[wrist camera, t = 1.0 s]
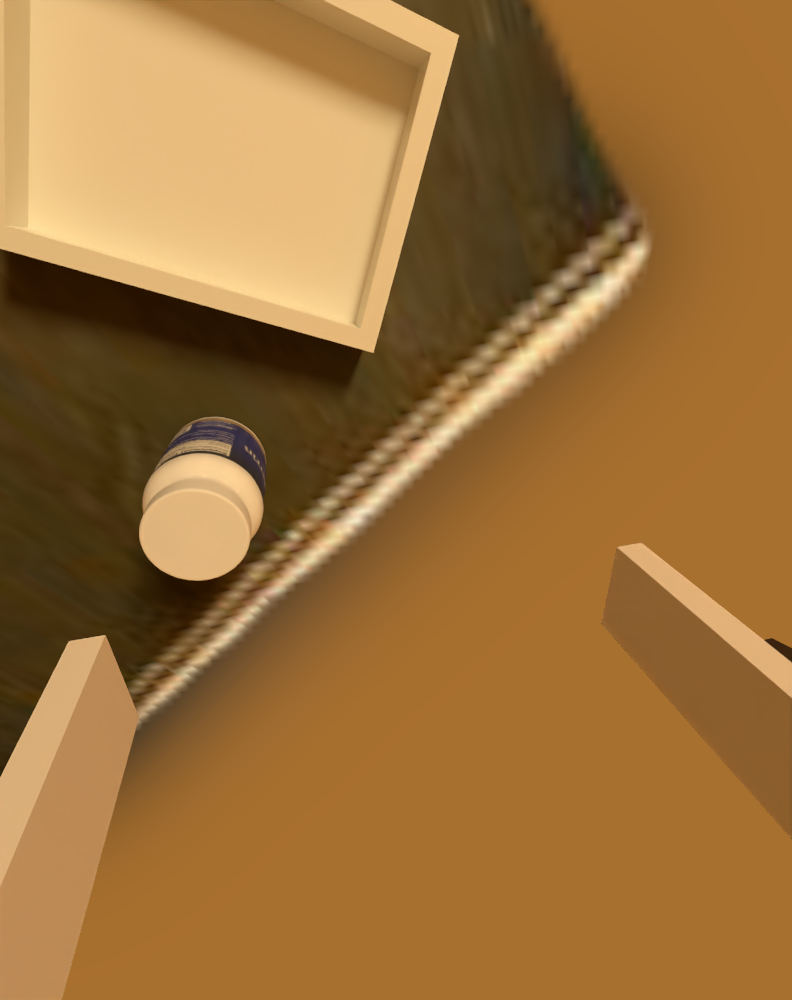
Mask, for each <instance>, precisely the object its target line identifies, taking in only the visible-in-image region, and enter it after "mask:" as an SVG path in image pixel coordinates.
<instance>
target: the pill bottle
mask: <svg viewBox="0 0 792 1000" xmlns="http://www.w3.org/2000/svg"><path fill="white" fill-rule="evenodd" d="M265 478H266V456H265V452H264V449H263V447H262V444H261V443H260V441H259V439H258V438H257V437H256V435H255V434H254V433H253V432H252V431H251V430H250V429H248V428H247V427H246V426H244V425H242V424H241V423H239V422H236V421H234V420H231V419H227V418H222V417H206V418H201V419H198V420H195V421H193V422H191V423H189V424H187V425H186V426H184V427H183V428H182V429H181V430H180V431H179V432H178V433H177V434H176V435H175V437H174V438H173V440H172V441H171V443H170V444H169V446H168V448H167V449H166V451H165V453H164V455H163V456H162V458H161V460H160V462H159V463H158V465H157V466H156V468H155V470H154V472H153V473H152V475H151V477H150V478H149V480H148V483H147V485H146V487H145V490H144V494H143V504H142V506H143V517H142V519H141V522H140V527H139V539H140V543H141V546H142V549H143V551H144V553H145V554H146V556H147V557H148V559H149V560H150V561H151V562H152V563H153V564H154V565H155V566H156V567H157V568H159V569H160V570H161V571H163V572H165V573H167V574H169V575H171V576H174V577H176V578H180V579H185V580H194V581H202V580H209V579H213V578H217V577H220V576H222V575H224V574H226V573H228V572H229V571H231V570H232V569H234V568H235V567H236V566H237V565H238V564H239V563H240V562H241V560H242V559H243V558H244V556H245V554H246V552H247V550H248V547H249V543H250V540H251V539H252V538H253V536H254V535H255V533H256V532H257V530H258V528H259V526H260V523H261V520H262V516H263V510H264V492H265Z"/></svg>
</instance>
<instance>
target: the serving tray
mask: <svg viewBox="0 0 792 1000" xmlns="http://www.w3.org/2000/svg"><path fill="white" fill-rule="evenodd" d="M458 37H459V35H457V34H455V33H453V32H451V31H449V30H447V29H445V28H443V27H442V26H440V25H438V24H436V23H434V22H432V21H430V20H428V19H426V18H424V17H422V16H420V15H418V14H416V13H414V12H412V11H410V10H408V9H406V8H404V7H402V6H400V5H398V4H397V3H395V2H393V1H391V0H0V249H3V250H7V251H10V252H14V253H18V254H21V255H25V256H28V257H32V258H35V259H39V260H43V261H46V262H50V263H53V264H57V265H60V266H64V267H68V268H71V269H75V270H78V271H82V272H86V273H89V274H93V275H96V276H100V277H103V278H107V279H111V280H114V281H118V282H121V283H125V284H129V285H132V286H136V287H139V288H143V289H146V290H150V291H154V292H157V293H161V294H164V295H168V296H172V297H175V298H179V299H182V300H186V301H189V302H193V303H197V304H200V305H204V306H207V307H211V308H214V309H218V310H222V311H225V312H229V313H232V314H236V315H240V316H243V317H247V318H250V319H254V320H257V321H261V322H265V323H268V324H272V325H275V326H279V327H283V328H286V329H290V330H293V331H297V332H300V333H304V334H308V335H311V336H315V337H318V338H322V339H326V340H329V341H333V342H336V343H340V344H343V345H347V346H351V347H354V348H358V349H361V350H365V351H368V352H372V353H373V352H374V349H375V345H376V341H377V337H378V334H379V330H380V326H381V323H382V319H383V315H384V311H385V308H386V304H387V300H388V297H389V293H390V289H391V286H392V282H393V278H394V274H395V271H396V267H397V263H398V260H399V256H400V252H401V248H402V245H403V241H404V237H405V234H406V230H407V226H408V223H409V219H410V215H411V211H412V208H413V204H414V200H415V197H416V193H417V189H418V185H419V182H420V178H421V174H422V171H423V167H424V163H425V160H426V156H427V152H428V148H429V145H430V141H431V137H432V134H433V130H434V126H435V122H436V119H437V115H438V111H439V108H440V104H441V100H442V97H443V93H444V89H445V85H446V82H447V78H448V74H449V71H450V67H451V63H452V59H453V56H454V52H455V48H456V45H457V41H458Z"/></svg>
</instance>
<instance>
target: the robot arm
mask: <svg viewBox="0 0 792 1000" xmlns="http://www.w3.org/2000/svg"><path fill="white" fill-rule="evenodd" d="M602 625H603V626H604V627H605V628H606V629H607V630H608V631H609V633H610V634H611V635H612V636H613V637H614V638H615V639H616V641H617V642H618V643H619V644H620V645H621V646H622V647H623V649H624V650H625V651H626V652H627V653H628V654H629V655H630V656H631V657H632V658H633V660H634V661H635V662H636V663H637V664H638V665H639V667H640V668H641V669H642V670H643V671H644V672H645V673H646V675H647V676H648V677H649V678H650V679H651V680H652V681H653V682H654V683H655V685H656V686H657V687H658V688H659V689H660V690H661V692H662V693H663V694H664V695H665V696H666V697H667V698H668V699H669V700H670V702H671V703H672V704H673V705H674V706H675V707H676V708H677V710H678V711H679V712H680V713H681V714H682V715H683V716H684V718H685V719H686V720H687V721H688V722H689V723H690V724H691V725H692V726H693V728H694V729H695V730H696V731H697V732H698V733H699V735H701V737H702V738H703V739H704V740H705V741H706V742H707V743H708V745H709V746H710V747H711V748H712V749H713V750H714V751H715V753H716V754H717V755H718V756H719V757H720V758H721V759H722V760H723V762H724V763H725V764H726V765H727V766H728V767H729V768H730V770H731V771H732V772H733V773H734V774H735V775H736V776H737V777H738V778H739V780H740V781H741V782H742V783H743V784H744V785H745V787H746V788H747V789H748V790H749V791H750V792H751V793H752V795H753V796H754V797H755V798H756V799H757V800H758V801H759V802H760V804H761V805H762V806H763V807H764V808H765V809H766V810H767V812H768V813H769V814H770V815H771V816H772V817H773V818H774V819H775V821H776V822H777V823H778V824H779V825H780V826H781V827H782V828H783V830H784V831H785V832H786V833H787V834H788V835H789V836H790V838H791V839H792V648H790V647H788V646H786V645H784V644H782V643H780V642H778V641H776V640H774V639H772V638H771V639H767V640H763V639H762V638H760V637H759V636H758V635H757V634H755V633H754V632H753V631H752V630H750V629H749V628H748V627H747V626H745V625H744V624H743V623H741V622H740V621H739V620H738V619H736V618H735V617H734V616H733V615H731V614H730V613H729V612H728V611H726V610H725V609H724V608H723V607H721V606H720V605H719V604H718V603H716V602H715V601H714V600H713V599H711V598H710V597H709V596H708V595H706V594H705V593H704V592H702V591H701V590H700V589H699V588H697V587H696V586H695V585H694V584H692V583H691V582H690V581H688V580H687V579H686V578H685V577H684V576H682V575H681V574H680V573H679V572H677V571H676V570H675V569H673V568H672V567H671V566H670V565H669V564H667V563H666V562H665V561H663V560H662V559H661V558H660V557H658V556H657V555H656V554H655V553H653V552H652V551H651V550H650V549H648V548H647V547H646V546H645V545H643V544H642V543H639V544H633V545H627V546H621V547H617V549H616V554H615V559H614V564H613V569H612V574H611V579H610V584H609V589H608V594H607V599H606V604H605V609H604V614H603V619H602ZM138 719H139V716H138V714H137V711H136V709H135V706H134V704H133V702H132V699H131V697H130V694H129V692H128V689H127V687H126V684H125V682H124V679H123V677H122V674H121V672H120V670H119V667H118V665H117V662H116V660H115V657H114V655H113V652H112V650H111V647H110V645H109V643H108V640H107V638H106V635H103V636H97V637H91V638H85V639H80V640H74V641H69V642H68V644H67V646H66V648H65V650H64V652H63V654H62V656H61V658H60V660H59V662H58V664H57V666H56V668H55V670H54V672H53V674H52V676H51V678H50V680H49V682H48V684H47V686H46V688H45V690H44V692H43V694H42V696H41V698H40V700H39V702H38V704H37V706H36V708H35V710H34V712H33V714H32V716H31V718H30V720H29V722H28V723H27V725H26V727H25V729H24V731H23V733H22V735H21V737H20V739H19V741H18V743H17V745H16V747H15V749H14V751H13V753H12V755H11V757H10V759H9V761H8V763H7V765H6V767H5V769H4V771H3V773H2V775H1V777H0V1000H61V999H62V996H63V992H64V989H65V985H66V981H67V978H68V974H69V970H70V967H71V963H72V960H73V956H74V952H75V949H76V945H77V941H78V938H79V934H80V930H81V927H82V923H83V919H84V916H85V912H86V908H87V905H88V901H89V897H90V894H91V890H92V887H93V883H94V879H95V876H96V872H97V868H98V865H99V861H100V857H101V854H102V850H103V846H104V843H105V839H106V835H107V832H108V828H109V824H110V821H111V817H112V813H113V810H114V806H115V802H116V799H117V795H118V791H119V787H120V784H121V780H122V777H123V773H124V770H125V766H126V762H127V758H128V755H129V751H130V748H131V744H132V740H133V737H134V733H135V729H136V726H137V722H138Z"/></svg>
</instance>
